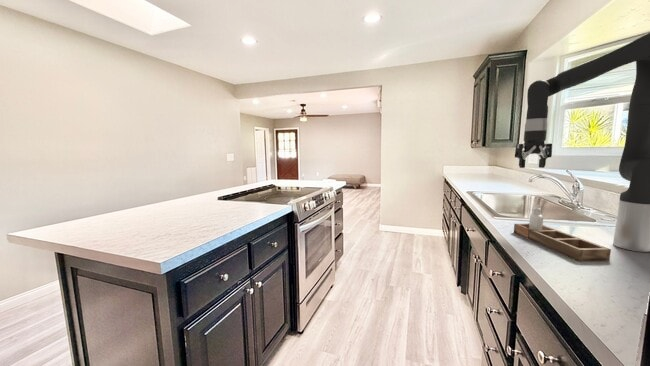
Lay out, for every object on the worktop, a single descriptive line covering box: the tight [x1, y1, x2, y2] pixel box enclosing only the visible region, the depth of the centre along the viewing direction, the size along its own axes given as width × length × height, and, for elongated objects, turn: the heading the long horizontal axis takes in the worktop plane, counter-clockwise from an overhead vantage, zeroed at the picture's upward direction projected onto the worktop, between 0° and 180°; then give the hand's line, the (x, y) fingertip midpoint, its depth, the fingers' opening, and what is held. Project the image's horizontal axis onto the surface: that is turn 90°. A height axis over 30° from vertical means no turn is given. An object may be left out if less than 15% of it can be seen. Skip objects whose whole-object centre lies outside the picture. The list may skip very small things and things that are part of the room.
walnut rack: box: [513, 222, 612, 262], centre depth 99 cm, size 11×29×4 cm, turn 1°
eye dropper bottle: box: [529, 204, 544, 230], centre depth 107 cm, size 4×6×12 cm
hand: (531, 167), depth 113 cm, fingers open, 8 cm apart
